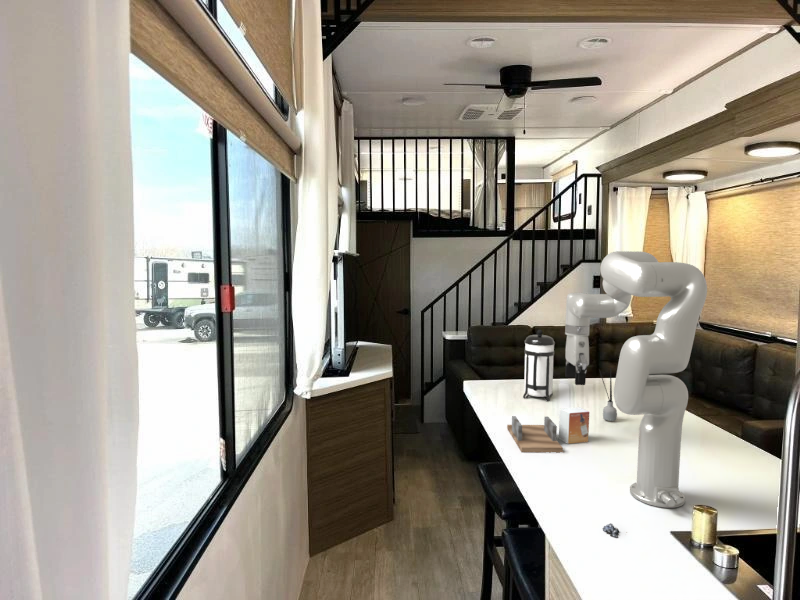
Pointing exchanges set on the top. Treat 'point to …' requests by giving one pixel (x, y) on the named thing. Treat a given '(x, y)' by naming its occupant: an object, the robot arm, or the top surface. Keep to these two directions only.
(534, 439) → the holder stand
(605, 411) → the reed diffuser
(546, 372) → the coffee press
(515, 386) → the top surface
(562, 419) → the small box
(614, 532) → the blueberries
